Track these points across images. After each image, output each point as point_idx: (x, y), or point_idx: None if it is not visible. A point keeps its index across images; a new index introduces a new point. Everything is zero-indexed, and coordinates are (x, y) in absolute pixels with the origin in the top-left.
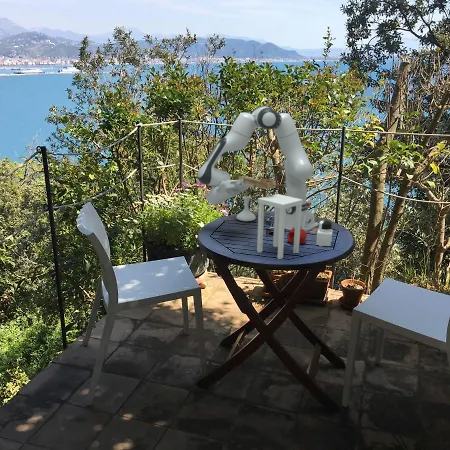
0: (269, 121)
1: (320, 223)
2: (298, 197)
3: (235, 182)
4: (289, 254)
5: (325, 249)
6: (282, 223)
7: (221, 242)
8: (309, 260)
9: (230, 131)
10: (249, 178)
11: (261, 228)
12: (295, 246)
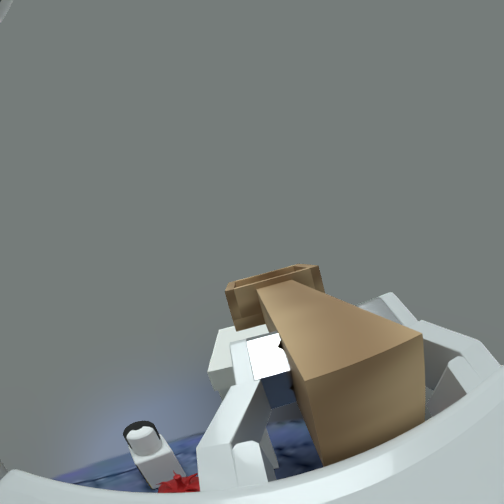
0: (4, 13)
1: (150, 432)
2: (5, 469)
3: (484, 371)
4: (295, 463)
5: (194, 457)
6: None
7: None
8: (282, 430)
9: None
10: (298, 303)
11: None
12: (273, 450)
